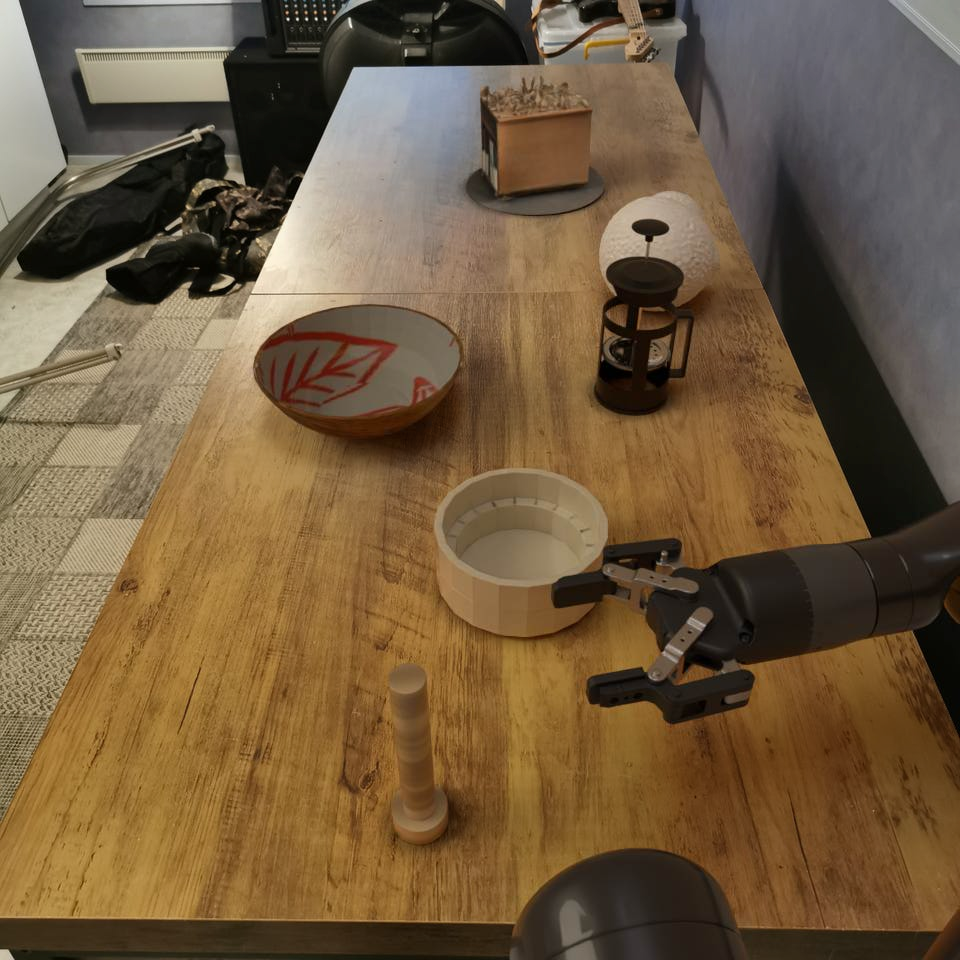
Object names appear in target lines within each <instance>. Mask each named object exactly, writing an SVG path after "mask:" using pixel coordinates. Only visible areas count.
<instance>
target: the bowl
mask: <svg viewBox="0 0 960 960" xmlns="http://www.w3.org/2000/svg"><path fill="white" fill-rule="evenodd" d="M464 360H465V351H464V345H463V343H462V341H461V339H460V337H459V335H458V334H457V333H456V332H455V331H454V330H453V329H452V328H451V326H449V325H448V324H446V323H445V322H443V321H442V320H440V319H439V318H437V317H434V316H432V315H430V314H428V313H425V312H423V311H420V310H417V309H414V308H413V309H412V308H409V307H405V306H398V305H390V304H380V303H379V304H377V303H363V304H347V305H342V306H336V307H330V308H326V309H322V310H318V311H314V312H311V313H309V314H306V315H303V316H301V317H298V318H296V319H294V320H292V321H290V322H288V323H286V324H285V325H283V326H281V327H280V328H278V329H277V330H276V331H274V332H273V333H272V334H270V335H269V336H268V337H267V338H266V339H265V340H264V341H263V343H261V344H260V345H259V348H258V349H257V352H256V353H255V356H254V358H253V364H252V373H253V377H254V381H255V383H256V384H257V386H258V388H259V389H260V391H261V392H262V393H263V394H264V396H265V397H266V398H267V399H268V400H269V401H270V402H271V403H272V404H273V405H274V406H275V407H276V408H277V409H278V410H280V411H281V412H282V413H283V414H284V415H285V416H286V417H288V418H289V419H291V420H292V421H294V422H295V423H298V424H299V425H301V426H303V427H305V428H307V429H309V430H311V431H314V432H316V433H319V434H322V435H325V436H328V437H332V438H333V437H334V438H338V439H349V440H351V439H353V440H359V439H372V438H373V439H374V438H379V437H383V436H388V435H391V434H393V433H397V432H400V431H402V430H404V429H407V428H408V427H410V426H412V425H414V424H415V423H417V422H418V421H419V420H421V419H423V418H424V417H425V416H427V415H428V414H430V413H431V412H432V410H434V409H435V408H436V407H437V406H438V405H439V403H440V402H442V400H444V398H445V397H446V396H447V394H448V393H449V391H450V390H451V388H452V387H453V385H454V383H455V382H456V380H457V379H458V377H459V374H460V373H461V371H462V369H463V364H464V362H465V361H464Z"/></svg>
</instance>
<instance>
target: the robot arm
mask: <svg viewBox="0 0 960 960" xmlns="http://www.w3.org/2000/svg"><path fill="white" fill-rule="evenodd" d="M682 549H683V541H681V540H680V539H678V538H677V537H667V538H660V539H659V538H658V539H651V540H643V541H633V542H626V543H618V544H617V543H616V544H609V545H608V544H607V546H606V547H604V549H603V559H602V567H601V568H600V569H599V570H597V571H593V572H587V573H581V574H577V575H576V574H575V575H569V576H563V577H561V578H559V579H558V581H556V582H554V583H553V584H552V587H551V600H552V603H553V606H554V607H555V608H557V609H560V608H566V607H572V606H577V605H583V604H589V603H595V602H596V603H600V602H603V601H604V599H603V598H605V599H609V600H612V601H614V602H618V603H620V604H624V605H626V606H627V607H628V609H629V610H630V611H632V612H633V613H636V614H639V615H642V616H645V617H644V619H645V622H646V623H647V626H648V628H649V629H650V630H651V631H652V632H653V633H654V635H655V642H656V645H657V647H658V650H659V652H660V653H661V654H660V655H659V656H658V657H657V659H656V660H655V661H654V662H653V663H652V664H651V665H650V667H648V669H647V671H645V670H644V667H643V666H637V667H632V668H627V669H620V670H615V671H609V672H605V673H600V674H594V675H591V676H590V677H588V678H587V680H586V687H585V695H586V698H587V701H588V703H589V704H590V705H592V706H594V705H598V706H599V707H600V708H607V709H610V708H615V707H621V706H626V705H630V704H631V705H632V704H636V703H641V702H647V703H650V704H653V705H655V706H656V708H657V709H659V710H660V712H662V719H663V720H664V722H666V723H667V724H669V725H678V724H682V723H685V722H690V721H693V720H698V719H701V718H705V717H709V716H714V715H719V714H722V713H725V712H729V711H732V710H733V711H734V710H737V709H740V708H744V707H746V706H748V705H749V701H750V697H751V694H752V691H753V688H754V684H755V680H756V676H755V674H754V673H753V672H752V671H751V670H749V669H746V668H741V666H740V665H742V666H751V665H756V664H762V663H768V662H773V661H778V660H783V659H787V658H788V659H790V658H793V657H794V658H795V657H798V656H803V655H809V654H815V653H820V652H827V651H830V650H835V649H838V648H842V647H845V646H847V645H849V644H850V645H851V644H853V643H856V642H860V641H864V640H870V639H875V638H881V637H886V636H891V635H896V634H902V633H908V632H912V631H915V630H919V629H922V628H924V627H926V626H928V625H930V624H932V623H933V621H934V620H935V619H936V618H937V617H938V615H939V614H940V612H941V611H942V608H943V606H944V608H945V609H946V611H947V613H948V615H950V617H951V619H953V620H954V622H956V623H957V624H958V625H959V626H960V500H957V501H954V502H952V503H950V504H948V505H945V506H944V507H942V508H939V509H938V510H935V511H933V512H931V513H929V514H927V515H925V516H923V517H921V518H919V519H917V520H915V521H913V522H911V523H908V524H906V525H904V526H902V527H900V528H898V529H896V530H894V531H892V532H889V533H888V534H887V533H886V534H884V535H879V536H872V537H865V538H860V539H854V540H853V539H852V540H849V541H848V540H847V541H843V542H835V543H815V544H814V543H813V544H812V543H811V544H803V545H798V546H791V547H785V548H779V549H773V550H768V551H762V552H755V553H749V554H743V555H738V556H732V557H725V558H722V559H719V560H718V561H716V562H714V563H713V564H711V565H710V566H708V567H706V568H694V567H689V566H687V565H686V562H685V560H684V558H683V555H682ZM624 560H625V561H624ZM623 585H624V586H623ZM626 586H627V587H626ZM646 588H647V589H651V590H653V591H652V592H651V593H650V594H649V596H646V593H645V592H646ZM596 603H595V604H596ZM694 666H698V667H701V668H704V669H707V670H710V671H713V672H714V674H713V676H712V675H711V676H709V677H704V678H701V679H700V678H699V679H696V680H692V681H689V682H684V683H680V682H681V681H682V680H683V679H684V678H685V676H687V674H688V673H689V672H690V671H691V670H692V669H693V667H694ZM679 683H680V684H679ZM722 887H723V886H721V884H720V882H719V881H718V880H717V879H716V878H715V876H714V875H712V874H711V872H709V871H708V869H705V868H704V867H703V866H702V865H701V864H699V863H698V862H696V861H694V860H692V859H690V858H688V857H686V856H683V855H681V854H679V853H676V852H673V851H669V850H664V849H660V848H655V847H653V848H652V847H626V848H618V849H611V850H608V851H604V852H600V853H596V854H593V855H591V856H588V857H586V858H583V859H581V860H578V861H577V862H575V863H573V864H571V865H569V866H567V867H566V868H564V869H562V870H561V871H559V872H558V873H557V874H555V875H553V876H552V877H551V878H550V879H549V880H547V881H546V882H545V883H544V884H543V885H542V886H540V887H539V889H537V890H536V891H535V893H534V894H533V895H532V897H531V898H530V899H529V900H528V901H527V903H526V904H525V905H524V907H523V909H522V910H521V912H520V913H519V915H518V917H517V919H516V921H515V924H514V926H513V929H512V932H511V936H510V937H511V938H510V943H509V960H750V957H749V954H748V952H747V948H746V945H745V944H744V942H743V938H742V935H741V931H740V928H739V925H738V924H737V920H736V917H735V914H734V912H733V909H732V906H731V903H730V902H729V900H728V897H727V894H726V892H725V891H724V889H723V888H722ZM920 960H960V906H959V907H958V908H957V909H956V910H955V912H954V913H953V914H952V916H951V918H950V919H949V920H948V922H947V923H946V925H945V926H944V927H943V929H942V930H941V931H940V934H939V935H938V936H937V938H936V939H935V941H934V942H933V943H932V945H930V947H929V949H928V950H927V952H925V954H924V955H923V957H922V958H921V959H920Z"/></svg>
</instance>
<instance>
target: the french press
mask: <svg viewBox="0 0 960 960" xmlns="http://www.w3.org/2000/svg"><path fill="white" fill-rule="evenodd" d="M631 227H632V230H633V231H634V232H636V233H638V234H641V235H644V236H645V241H646V242H647V247H646V255H645V256H635V257H627V258H623V259H619V260H617V261H615V262H613V263H612V264H610V265H609V266H608V268H607V270H606V278H607V280H608V281H609V283H610V284H611V285H613V288H614V290H615V292H616V294H617V296H615V295H614V296H612V297H610V298H609V299H607V300H606V302H604V304H603V306H602V311H601V312H602V313H601V314H602V315H601V323H600V324H601V325H600V337H599V345H598V346H599V347H598V358H597V359H598V361H597V369H596V370H597V371H596V379H595V381H596V382H595V384H594V386H593V395H594V397H595V399H596V401H597V402H598V404H600V405H601V406H602V407H604V408H605V409H607V410H609V411H611V412H614V413H617V414H620V415H621V414H622V415H625V416H644V415H648V414H652V413H655V412H657V411H659V410H660V409H662V408H663V407H664V406H665V405H666V403H667V401H668V399H669V390H668V388H669V381H670V379H684V378H685V377H686V374H687V373H686V372H687V368H688V362H689V361H688V360H689V356H690V355H689V354H690V348H691V343H692V337H693V330H694V324H695V315H694V312H693V309H688V308H682V309H681V308H678V307H676V306H675V305H674V304H673V303H671V302H672V301H674V300H675V299H676V297H677V295H678V289H679V287H680V286H681V285H682V284H683V281H684V274H683V272H682V270H681V269H680V268H679V267H678V266H676V265H675V264H673V263H671V262H669V261H666V260H663V259H659V258H655V257H649V249H650V242H652V241H653V237H654V236H660V235H664V234H666V233H667V232H668V231H669V226H668V225H667V224H666V223H665V222H663V221H660V220H656V219H641V220H638V221H635V222H634V223H633V224H632V226H631ZM619 305H627V309H626V318H625V326H624V325H620V324H618V323H616V322H615V321H613V320H612V319H610V318H609V317H608V316H607V314H606V313H607V312H608V311H609V310H611V309H613V308H615V307H617V306H619ZM654 307H661V308H663V309H665V311H666V312H667V313H669V314H670V315H671V316H672V317H673V319H672V322H671V323H669V324H667V325H665V326H662V327H659V328H654V329H641V322H642V314H643V310H642V308H654ZM680 319H682V320H686V319H687V320H688V321H687V327H686V333H685V339H684V346H683V353H682V358H681V364H680V367H679V368H672V361H673V355H674V349H675V348H674V346H675V343H676V342H675V341H676V335H677V328H678V322H679V320H680ZM605 329H607V330H608V331H609V332H610V333H612V334H614V335H613V336H611V337H608V338H607V339H606V340H605V339H604V337H605ZM668 336H670V338H669V345H667V344H666V343H665V342H664V341H663V340H661V339H662V338H663V339H664V338H665V337H668ZM604 340H605V341H604ZM626 377H630V378H631V382H630V389H629V390H625V389H621V388H617V387H615V386H613V385H611V384H609V383H610V382H611V381H613V380H615V379H620V378H626ZM647 382H649V383H651V384H652V385H653V386H654V387H655V388H653V389H649V390H646V383H647Z"/></svg>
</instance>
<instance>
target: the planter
mask: <svg viewBox="0 0 960 960" xmlns="http://www.w3.org/2000/svg"><path fill="white" fill-rule="evenodd" d="M543 76H544V75H541V74H540V75H539V81H540V82H539V84H536V85H535V83H536V82H535V81H536V76H535V75H534V76H533V77H532V80H531V81H530V88H529V89H528V87H527V82H526V79H525V77H522V79H521V80H522V85H521V84H520V85H519V88H518V90H515V89H514V88H513V86H512V85H508V86H507V89H505V87H504V86H503V85H502V84H501V85H500V87H499V89H498V91H497V90H495V91H494V92H492V93H491V90H490V86H489V85H488V84H487V85H484V86H482V87H481V88H480V91H479V95H480V97H479V103H480V108H479V109H480V110H479V111H480V131H481V132H480V136H481V152H480V153H481V156H480V157H481V167H480V168H479V169H477V170H476V171H474V172H473V173H472V174H471V175H470V176H469V177H468V179H467V181H466V183H465V190H466V193H467V194H468V196H469V198H471V199H472V200H473V201H475V202H476V203H477V204H479V205H481V206H483V207H484V208H488V209H490V210H492V211H497V212H500V213H506V214H511V215H512V214H513V215H525V216H541V215H553V214H560V213H566V212H571V211H574V210H578V209H581V208H583V207H586V206H587V205H589V204H591V203H592V202H594V201H596V200H597V199H599V197H600V196H601V195H602V193H603V192H604V189H605V180H604V178H603V176H602V175H601V174H600V173H599V171H597V170H596V169H595V168H593V167H592V166H590V159H591V158H590V157H591V135H592V134H591V133H592V132H591V131H592V117H593V111H594V108H593V107H592V106H591V105H590V103H588V100H587V99H586V98H585V97H584V96H583V95H582V94H581V92H579V91H577V89H576V87H574V86H573V85H572V84H569V83H568V82H567V81H563V82H561V83H560V84H554V85H553V83H549V85H548V84H547V83H545V78H544V77H543ZM544 83H545V84H544ZM534 85H535V86H534Z"/></svg>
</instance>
